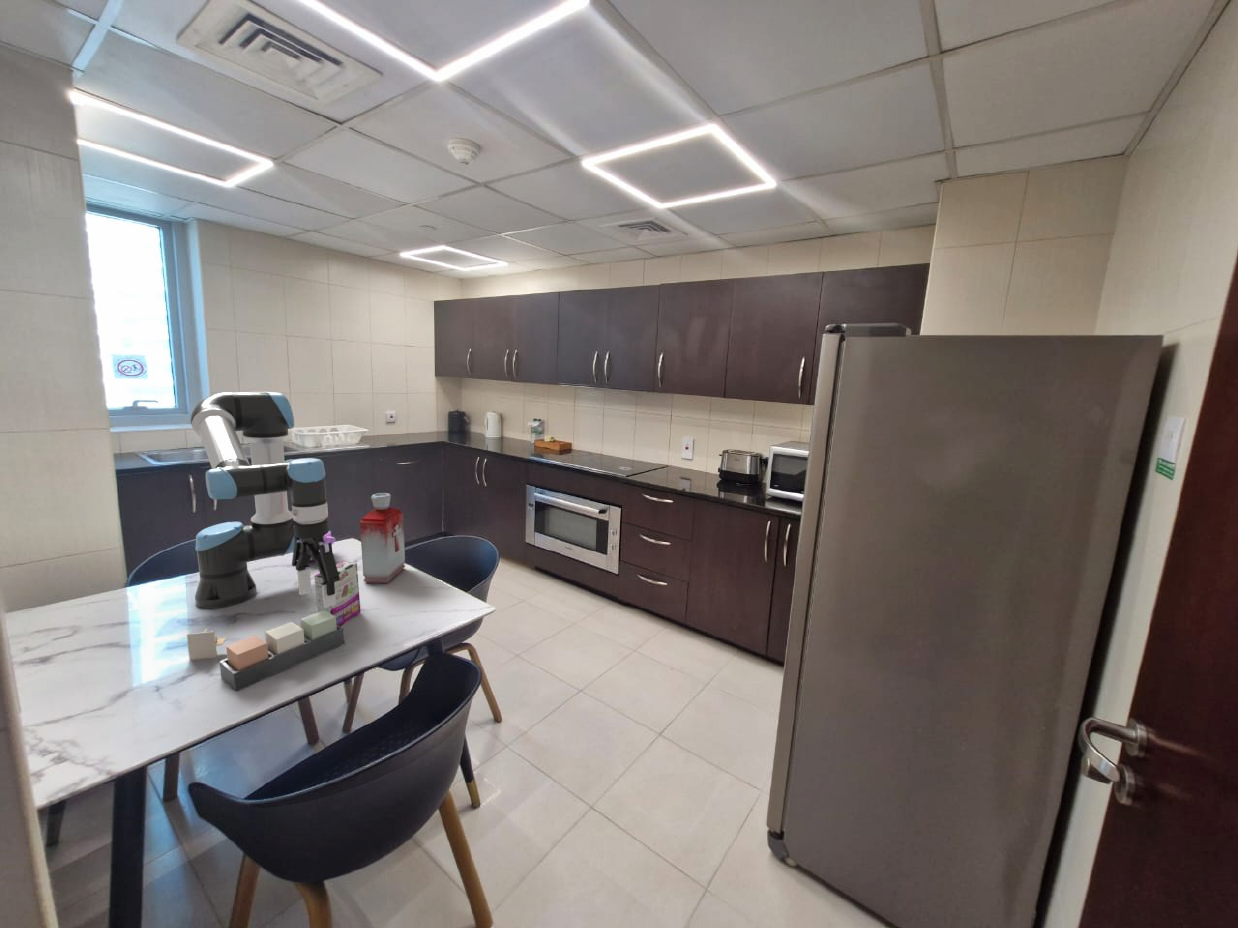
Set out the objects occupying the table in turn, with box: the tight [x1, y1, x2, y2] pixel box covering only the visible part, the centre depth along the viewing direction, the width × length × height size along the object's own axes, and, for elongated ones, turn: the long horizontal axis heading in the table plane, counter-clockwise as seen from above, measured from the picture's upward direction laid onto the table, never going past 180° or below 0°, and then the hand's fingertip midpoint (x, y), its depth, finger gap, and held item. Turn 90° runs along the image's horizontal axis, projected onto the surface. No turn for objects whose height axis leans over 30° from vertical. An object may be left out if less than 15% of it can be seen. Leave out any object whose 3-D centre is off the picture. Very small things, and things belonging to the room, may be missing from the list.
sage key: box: [299, 610, 337, 641], centre depth 129 cm, size 6×6×5 cm
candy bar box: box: [314, 560, 361, 627], centre depth 141 cm, size 11×5×16 cm, turn 168°
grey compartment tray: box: [219, 625, 346, 692], centre depth 123 cm, size 8×25×4 cm, turn 147°
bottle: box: [359, 492, 406, 585], centre depth 172 cm, size 14×10×30 cm
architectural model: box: [186, 628, 228, 661], centre depth 124 cm, size 3×7×7 cm, turn 108°
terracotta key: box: [226, 634, 269, 671], centre depth 115 cm, size 6×6×5 cm
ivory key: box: [264, 621, 304, 655], centre depth 122 cm, size 6×6×5 cm
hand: (317, 599), depth 127 cm, fingers open, 12 cm apart
